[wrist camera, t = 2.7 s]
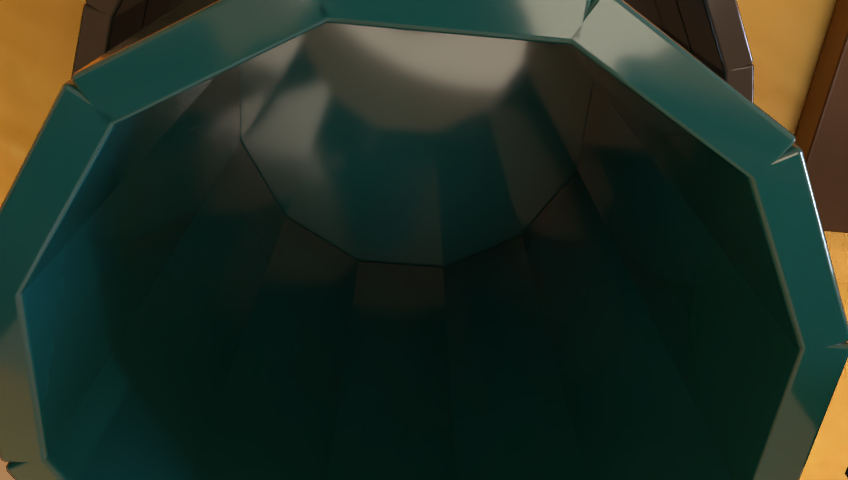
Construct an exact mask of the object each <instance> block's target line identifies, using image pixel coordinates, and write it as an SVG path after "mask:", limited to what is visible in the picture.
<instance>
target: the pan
mask: <svg viewBox="0 0 848 480" xmlns="http://www.w3.org/2000/svg"><path fill="white" fill-rule="evenodd" d="M185 1H187V0H86V3H85V4H84V6H83V12H82V18H81V23H80V29H79V35H78V41H77V47H76V52H75V58H74V64H73V70H72V76H73V74H74V73H76V72H77V71H79V70H80V69H82V68H83V67H85V66H86V65H88V64H89V63H91V62H93V61H94V60H96V59H97V58H99V57H100V56H102V55H103V54H105V53H106V52H108V51H110V50H111V49H113V48H114V47H116V46H117V45H119V44H120V43H122V42H123V41H125V40H126V39H128V38H130V37H131V36H133V35H134V34H136V33H137V32H139V31H140V30H142V29H143V28H145V27H147V26H148V25H150V24H151V23H153V22H154V21H156V20H157V19H159V18H160V17H162V16H163V15H165V14H167V13H168V12H170V11H171V10H173V9H174V8H176V7H177V6H179V5H180V4H182V3H184V2H185ZM624 1H625V2H626V3H627V4H629V5H630V6H631V7H632V8H634V9H635V10H636V11H637V12H639V13H640V14H641V15H643V16H644V17H645V18H646V19H648V20H649V21H650V22H651V23H653V24H654V25H655V26H656V27H658V28H659V29H660V30H662V31H663V32H664V33H665V34H667V35H668V36H669V37H670V38H672V39H673V40H674V41H675V42H677V43H678V44H679V45H681V46H682V47H683V48H684V49H686V50H687V51H688V52H689V53H691V54H692V55H693V56H694V57H696V58H697V59H698V60H699V61H701V62H702V63H703V64H705V65H706V66H707V67H708V68H710V69H711V70H712V71H713V72H715V73H716V74H717V75H718V76H720V77H721V78H722V79H724V80H725V81H726V82H727V83H729V84H730V85H731V86H732V87H734V88H735V89H736V90H737V91H739V92H740V93H741V94H743V95H744V96H745V97H746V98H748V99H749V100H750V101H751V102H753V95H754V65H753V64H752V63H753V58H752V55H751V51H750V47H749V44H748V40H747V37H746V33H745V29H744V26H743V22H742V18H741V15H740V11H739V8H738V4H737V0H624ZM72 76H71V79H72Z"/></svg>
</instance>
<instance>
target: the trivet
mask: <svg viewBox="0 0 848 480" xmlns="http://www.w3.org/2000/svg"><path fill="white" fill-rule="evenodd" d="M795 139H796V141H795V143H796V144H797V145H799V146H800V147H801V149H802V150H803V154H804V158H805V162H806V166H807V169H808V173H809V177H810V181H811V185H812V188H813V192H814V196H815V200H816V204H817V208H818V211H819V215H820V219H821V223H822V227H823V231H831V232H844V233H848V0H838V2H837V5H836V8H835V11H834V14H833V17H832V21H831V24H830V27H829V30H828V33H827V37H826V40H825V43H824V46H823V49H822V53H821V56H820V59H819V62H818V65H817V68H816V72H815V75H814V78H813V81H812V84H811V88H810V91H809V94H808V97H807V100H806V103H805V107H804V110H803V113H802V116H801V119H800V123H799V126H798V129H797V132H796V135H795Z"/></svg>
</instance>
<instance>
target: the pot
mask: <svg viewBox="0 0 848 480" xmlns="http://www.w3.org/2000/svg"><path fill="white" fill-rule="evenodd" d="M795 141H796V139H795V136H794V135H793V134H792V133H791V132H789V131H788V130H787V129H786V128H784V127H783V126H782V125H780V124H779V123H778V122H777V121H775V120H774V119H773V118H772V117H770V116H769V115H768V114H767V113H765V112H764V111H763V110H761V109H760V108H759V107H758V106H756V105H755V104H754V103H753V102H751V101H750V100H749V99H748V98H746V97H745V96H744V95H743V94H741V93H740V92H739V91H737V90H736V89H735V88H734V87H732V86H731V85H730V84H729V83H727V82H726V81H725V80H724V79H722V78H721V77H720V76H718V75H717V74H716V73H715V72H713V71H712V70H711V69H710V68H708V67H707V66H706V65H705V64H703V63H702V62H701V61H699V60H698V59H697V58H696V57H694V56H693V55H692V54H691V53H689V52H688V51H687V50H686V49H684V48H683V47H682V46H681V45H679V44H678V43H677V42H675V41H674V40H673V39H672V38H670V37H669V36H668V35H667V34H665V33H664V32H663V31H662V30H660V29H659V28H658V27H656V26H655V25H654V24H653V23H651V22H650V21H649V20H648V19H646V18H645V17H644V16H643V15H641V14H640V13H639V12H637V11H636V10H635V9H634V8H632V7H631V6H630V5H629V4H627V3H626V2H625V1H624V0H187V1H185V2H184V3H182V4H180V5H179V6H177V7H176V8H174V9H173V10H171V11H170V12H168V13H167V14H165V15H163V16H162V17H160V18H159V19H157V20H156V21H154V22H153V23H151V24H150V25H148V26H147V27H145V28H143V29H142V30H140V31H139V32H137V33H136V34H134V35H133V36H131V37H130V38H128V39H126V40H125V41H123V42H122V43H120V44H119V45H117V46H116V47H114V48H113V49H111V50H110V51H108V52H106V53H105V54H103V55H102V56H100V57H99V58H97V59H96V60H94V61H93V62H91V63H89V64H88V65H86V66H85V67H83V68H82V69H80V70H79V71H77V72H76V73H74V74H73V76H72V79H71V80H69V81H68V82H66V83H65V84H64V85H63V86H62V87H61V89H60V91H59V93H58V95H57V97H56V99H55V101H54V103H53V105H52V107H51V109H50V111H49V113H48V115H47V117H46V119H45V121H44V123H43V125H42V127H41V129H40V130H39V132H38V134H37V136H36V138H35V140H34V142H33V144H32V146H31V148H30V150H29V152H28V154H27V156H26V158H25V160H24V162H23V164H22V166H21V168H20V170H19V172H18V173H17V175H16V177H15V179H14V181H13V183H12V185H11V187H10V189H9V191H8V193H7V195H6V197H5V199H4V201H3V203H2V205H1V207H0V458H1V460H2V461H4V462H8V464H7V466H6V469H7V471H8V473H9V474H10V475H11V476H12V477H13V478H14V479H15V480H799V479H800V476H801V474H802V471H803V469H804V466H805V464H806V461H807V459H808V456H809V454H810V451H811V449H812V446H813V444H814V441H815V439H816V436H817V434H818V431H819V428H820V426H821V423H822V421H823V418H824V416H825V413H826V411H827V408H828V406H829V403H830V401H831V398H832V396H833V393H834V391H835V388H836V386H837V383H838V381H839V378H840V376H841V373H842V370H843V368H844V365H845V363H846V360H847V358H848V342H847V341H848V322H847V318H846V315H845V311H844V307H843V303H842V299H841V296H840V292H839V288H838V284H837V280H836V276H835V273H834V269H833V265H832V261H831V257H830V253H829V250H828V246H827V242H826V238H825V234H824V231H823V227H822V223H821V219H820V215H819V211H818V208H817V204H816V200H815V196H814V192H813V188H812V185H811V181H810V177H809V173H808V169H807V166H806V162H805V158H804V154H803V150H802V149H801V147H800V146H799V145H797V144H796V143H795Z"/></svg>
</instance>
